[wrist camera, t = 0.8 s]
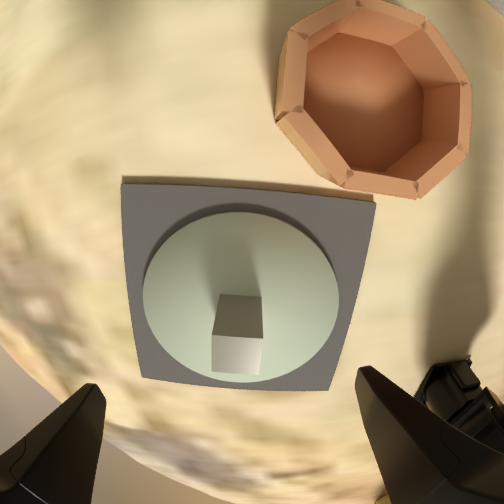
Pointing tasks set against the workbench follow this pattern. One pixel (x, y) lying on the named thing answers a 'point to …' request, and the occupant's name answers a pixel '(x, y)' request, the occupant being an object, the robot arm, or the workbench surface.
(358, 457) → the workbench surface
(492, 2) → the wireless router
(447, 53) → the bowl
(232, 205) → the mat
